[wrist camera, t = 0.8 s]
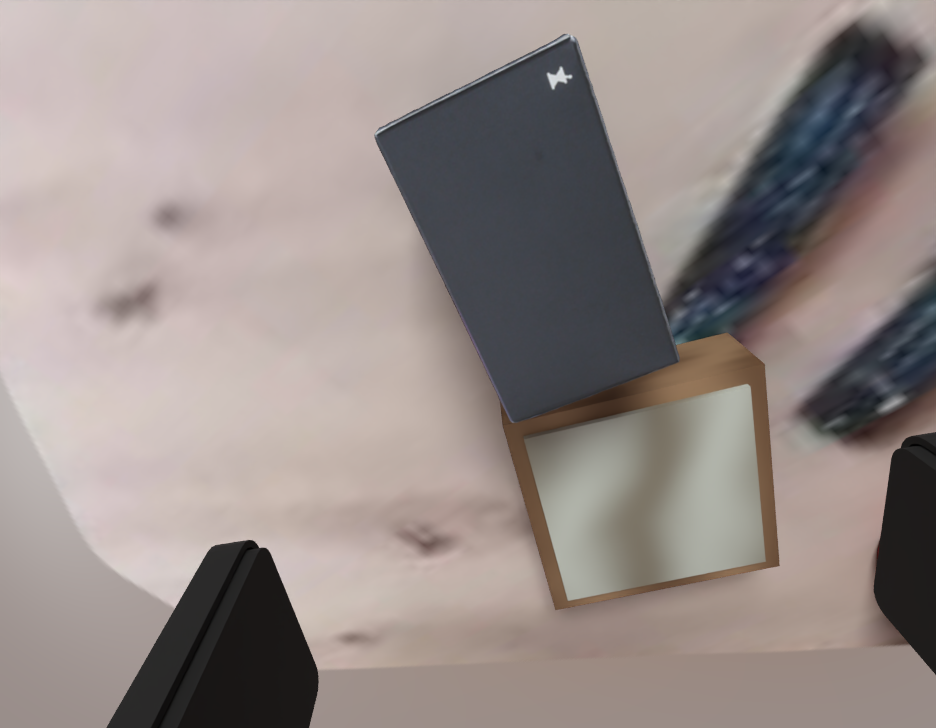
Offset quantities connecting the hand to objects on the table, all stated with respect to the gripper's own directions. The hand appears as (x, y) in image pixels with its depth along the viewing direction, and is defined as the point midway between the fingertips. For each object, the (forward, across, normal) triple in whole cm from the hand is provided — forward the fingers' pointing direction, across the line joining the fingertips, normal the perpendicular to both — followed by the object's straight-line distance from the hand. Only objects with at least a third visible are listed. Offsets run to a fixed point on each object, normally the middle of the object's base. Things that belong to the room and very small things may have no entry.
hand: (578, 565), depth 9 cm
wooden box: (+20, -6, +12) cm, 25 cm away
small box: (+21, -1, -2) cm, 21 cm away
